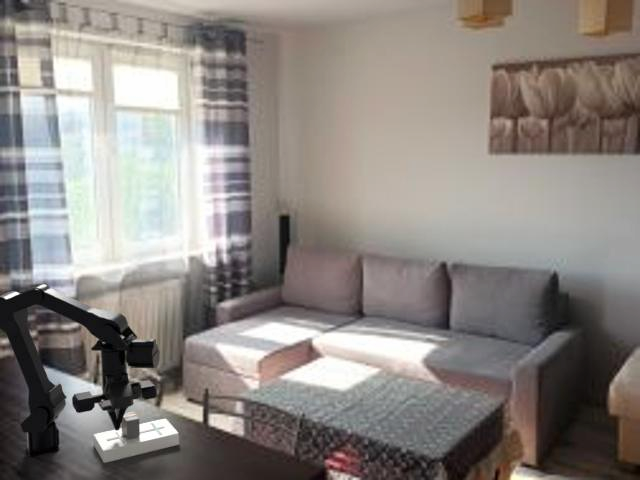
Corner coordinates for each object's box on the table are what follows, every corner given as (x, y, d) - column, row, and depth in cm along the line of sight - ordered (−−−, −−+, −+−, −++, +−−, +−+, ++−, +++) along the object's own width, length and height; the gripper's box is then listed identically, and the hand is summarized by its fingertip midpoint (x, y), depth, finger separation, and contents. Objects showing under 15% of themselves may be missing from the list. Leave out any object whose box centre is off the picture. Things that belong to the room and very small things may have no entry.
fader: (127, 439, 153) (126, 420, 152) (121, 431, 157) (120, 413, 156) (140, 436, 154) (139, 418, 154) (134, 428, 159) (133, 410, 158)
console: (103, 462, 148) (103, 450, 147) (94, 445, 156) (93, 433, 156) (178, 444, 157) (178, 432, 157) (165, 429, 166) (165, 417, 165)
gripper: (79, 385, 140) (83, 452, 142) (163, 370, 149) (165, 433, 152) (70, 370, 149) (73, 433, 151) (149, 357, 159) (151, 416, 161)
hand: (116, 429), depth 154 cm, fingers closed
